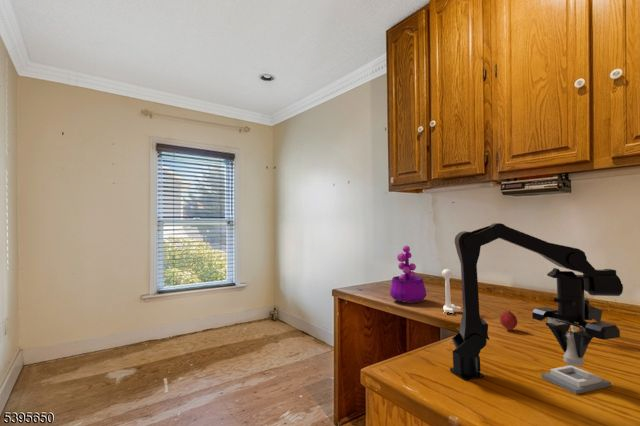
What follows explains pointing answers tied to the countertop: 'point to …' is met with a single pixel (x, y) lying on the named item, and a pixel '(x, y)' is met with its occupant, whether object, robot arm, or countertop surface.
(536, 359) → the countertop surface
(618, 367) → the countertop surface
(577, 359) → the rook chess piece
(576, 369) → the collar plate
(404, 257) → the decorative plant
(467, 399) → the countertop surface
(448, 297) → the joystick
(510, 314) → the onion
